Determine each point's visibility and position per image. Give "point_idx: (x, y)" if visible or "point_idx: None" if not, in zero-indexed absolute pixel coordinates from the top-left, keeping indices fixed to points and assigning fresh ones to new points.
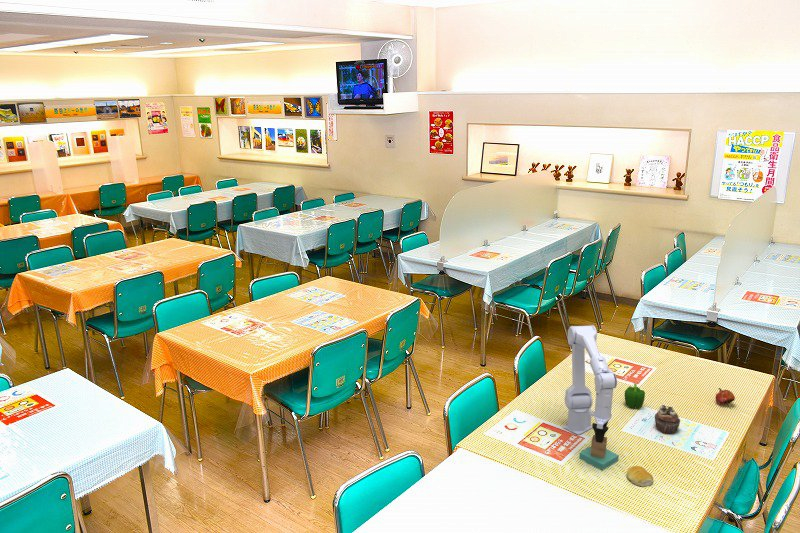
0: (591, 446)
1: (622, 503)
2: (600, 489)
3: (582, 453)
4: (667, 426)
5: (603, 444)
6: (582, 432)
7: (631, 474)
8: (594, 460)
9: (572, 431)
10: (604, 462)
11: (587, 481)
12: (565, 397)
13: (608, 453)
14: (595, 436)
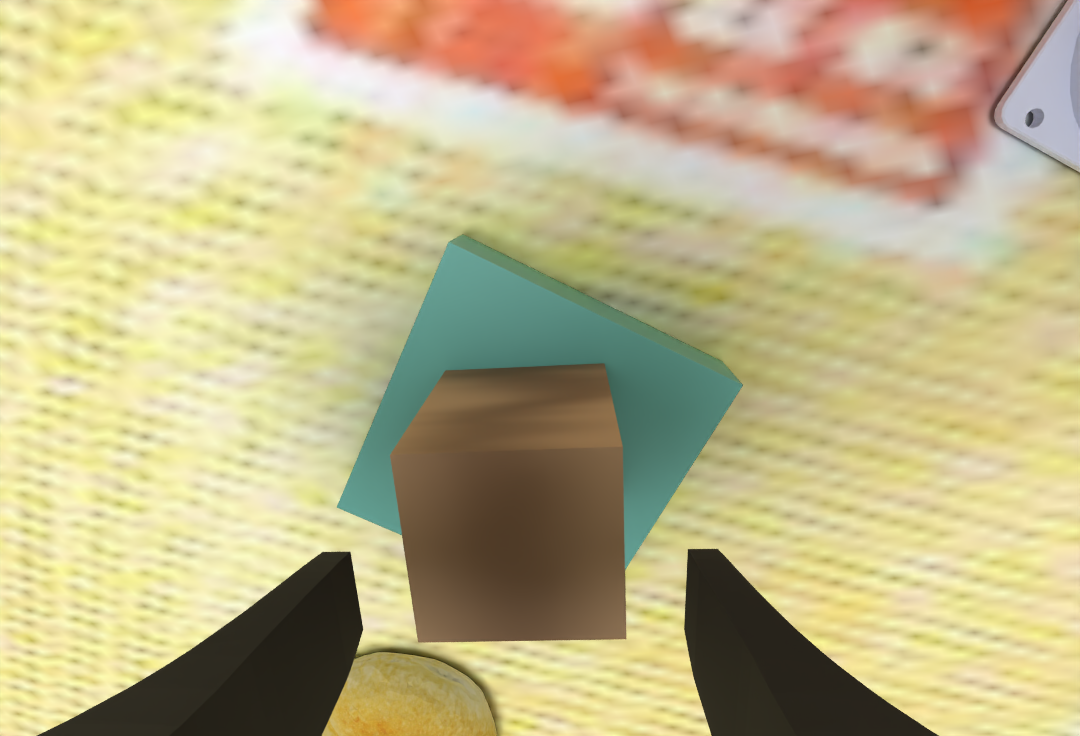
0: (415, 420)
1: (22, 649)
2: (77, 496)
3: (443, 278)
4: None
5: (416, 605)
6: (1063, 159)
7: (335, 720)
8: (372, 423)
9: (1063, 17)
10: (386, 517)
11: (115, 383)
12: None
13: None
14: (241, 616)
